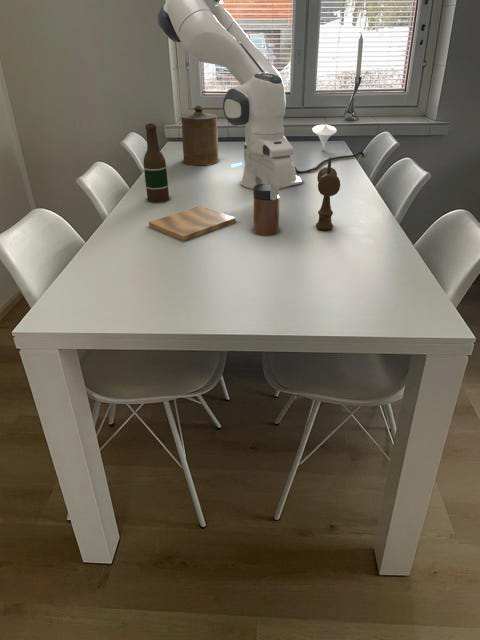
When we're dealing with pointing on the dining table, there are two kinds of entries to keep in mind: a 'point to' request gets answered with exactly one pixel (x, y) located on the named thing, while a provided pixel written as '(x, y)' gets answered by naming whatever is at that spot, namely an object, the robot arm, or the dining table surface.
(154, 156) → the beer bottle
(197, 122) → the wooden container
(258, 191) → the lid
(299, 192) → the dining table surface
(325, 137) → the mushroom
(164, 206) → the dining table surface
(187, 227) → the board
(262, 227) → the jar
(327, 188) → the kendama
